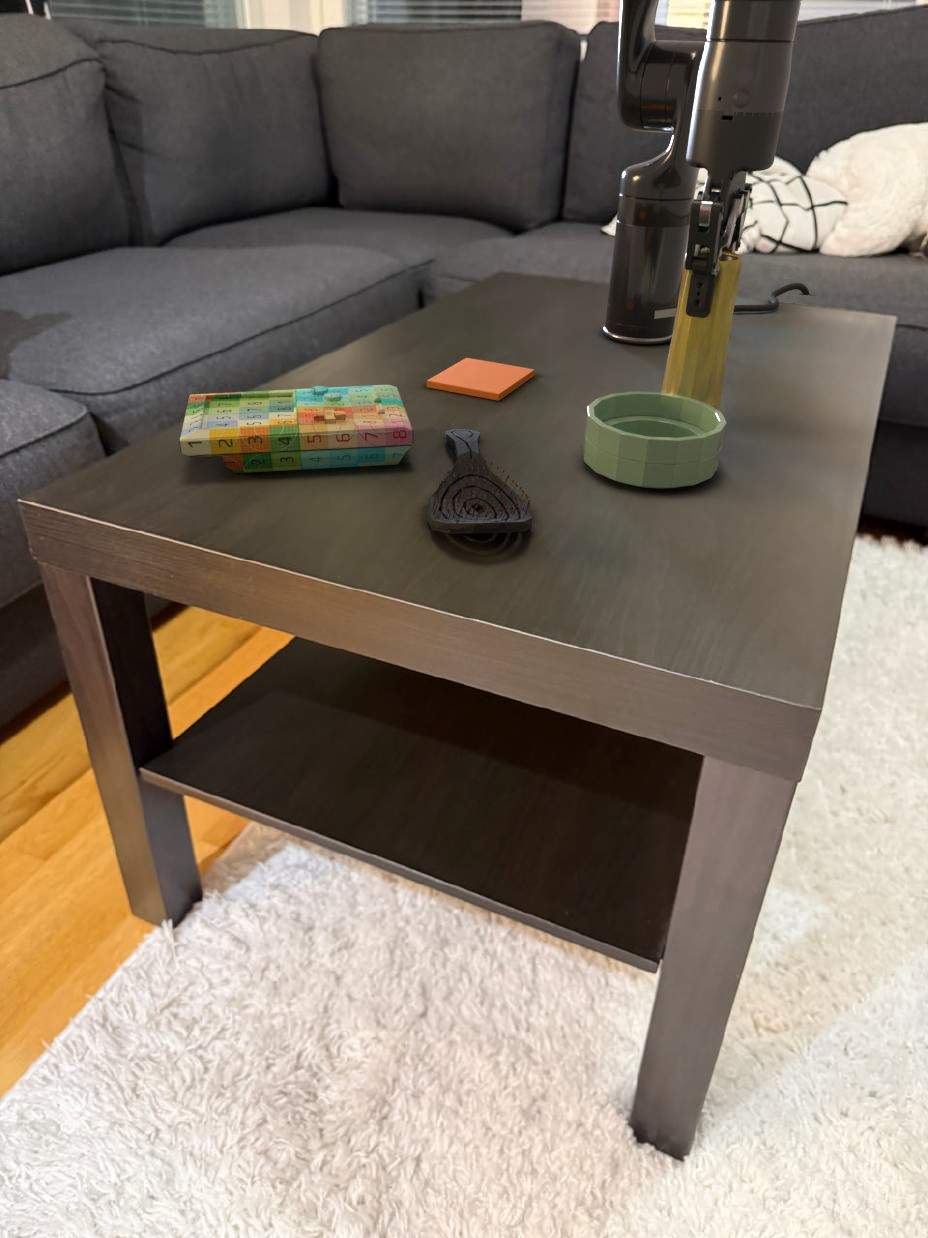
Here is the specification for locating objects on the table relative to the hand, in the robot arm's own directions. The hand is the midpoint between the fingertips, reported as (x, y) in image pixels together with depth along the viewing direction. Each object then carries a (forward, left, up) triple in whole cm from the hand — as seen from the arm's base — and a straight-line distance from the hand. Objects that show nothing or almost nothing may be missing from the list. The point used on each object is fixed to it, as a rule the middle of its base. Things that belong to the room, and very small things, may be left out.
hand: (704, 308), depth 84 cm
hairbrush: (+25, -12, -12) cm, 31 cm away
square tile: (-2, -24, -12) cm, 27 cm away
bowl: (+12, 0, -12) cm, 17 cm away
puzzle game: (+25, -30, -12) cm, 41 cm away
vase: (0, 0, -10) cm, 10 cm away
